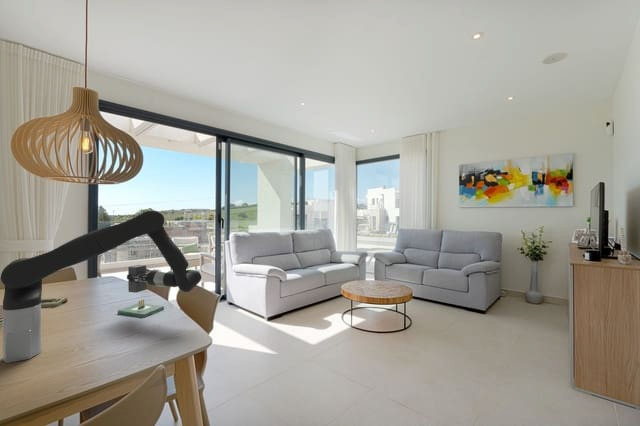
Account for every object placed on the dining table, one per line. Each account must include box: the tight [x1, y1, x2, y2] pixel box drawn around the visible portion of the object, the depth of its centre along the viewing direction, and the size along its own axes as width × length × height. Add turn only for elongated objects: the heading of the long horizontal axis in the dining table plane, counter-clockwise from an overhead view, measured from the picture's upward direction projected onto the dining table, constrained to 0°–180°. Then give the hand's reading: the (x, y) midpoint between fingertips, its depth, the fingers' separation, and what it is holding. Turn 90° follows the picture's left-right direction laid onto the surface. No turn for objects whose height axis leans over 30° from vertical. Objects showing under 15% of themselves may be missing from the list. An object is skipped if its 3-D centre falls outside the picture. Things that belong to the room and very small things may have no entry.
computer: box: [41, 297, 68, 308], centre depth 152 cm, size 16×8×3 cm, turn 101°
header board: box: [117, 299, 165, 318], centre depth 145 cm, size 16×12×6 cm
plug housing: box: [127, 264, 147, 294], centre depth 142 cm, size 5×6×12 cm
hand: (133, 275), depth 142 cm, fingers closed on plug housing, 5 cm apart
